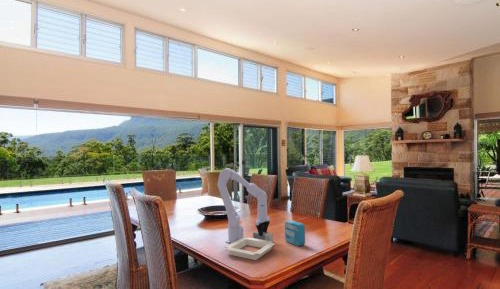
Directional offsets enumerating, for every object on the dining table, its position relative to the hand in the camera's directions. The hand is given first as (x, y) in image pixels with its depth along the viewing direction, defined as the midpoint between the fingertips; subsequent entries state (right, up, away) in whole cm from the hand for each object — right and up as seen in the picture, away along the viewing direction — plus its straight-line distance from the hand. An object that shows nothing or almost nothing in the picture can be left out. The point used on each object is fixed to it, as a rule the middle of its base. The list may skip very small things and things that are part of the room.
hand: (262, 234), depth 171 cm
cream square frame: (-7, -4, -17) cm, 19 cm away
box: (0, -4, 0) cm, 4 cm away
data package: (+19, -4, -4) cm, 19 cm away
